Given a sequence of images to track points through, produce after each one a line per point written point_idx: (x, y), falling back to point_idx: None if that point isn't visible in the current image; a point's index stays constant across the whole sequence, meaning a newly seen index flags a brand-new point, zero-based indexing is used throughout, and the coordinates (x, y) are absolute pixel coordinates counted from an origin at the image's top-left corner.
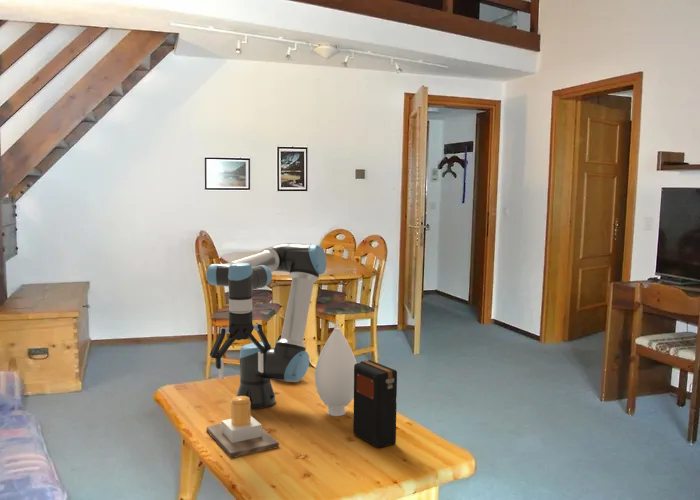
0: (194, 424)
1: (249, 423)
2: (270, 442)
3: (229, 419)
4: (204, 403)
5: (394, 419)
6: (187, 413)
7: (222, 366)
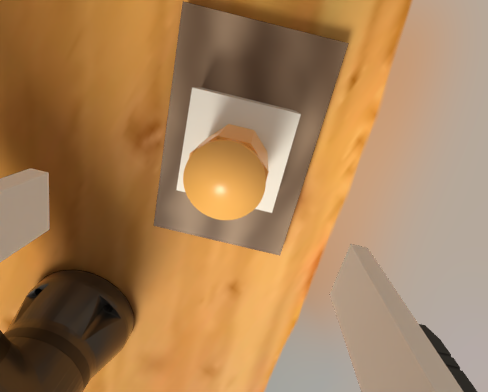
0: (277, 299)
1: (217, 128)
2: (204, 22)
3: None
4: (190, 376)
5: None
6: (252, 356)
7: (405, 319)
